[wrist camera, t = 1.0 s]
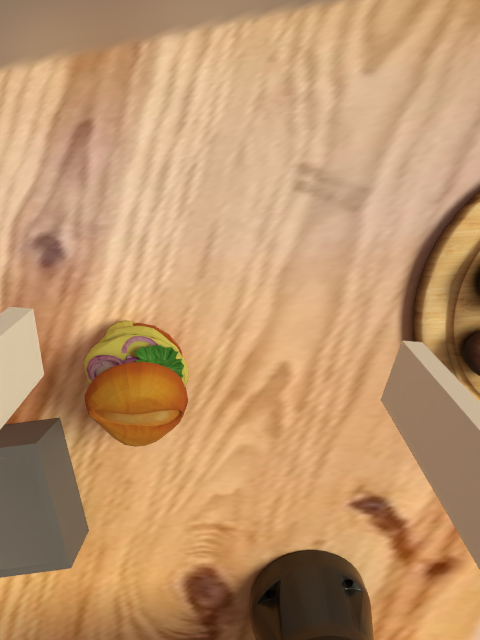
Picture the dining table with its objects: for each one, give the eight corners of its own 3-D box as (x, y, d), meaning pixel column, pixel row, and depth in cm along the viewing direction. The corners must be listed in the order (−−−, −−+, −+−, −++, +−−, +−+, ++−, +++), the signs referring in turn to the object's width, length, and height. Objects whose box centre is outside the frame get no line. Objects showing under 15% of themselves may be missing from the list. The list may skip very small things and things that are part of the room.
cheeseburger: (164, 298, 37) (159, 346, 28) (205, 375, 41) (211, 437, 33) (75, 335, 37) (41, 394, 28) (126, 407, 42) (111, 477, 33)
